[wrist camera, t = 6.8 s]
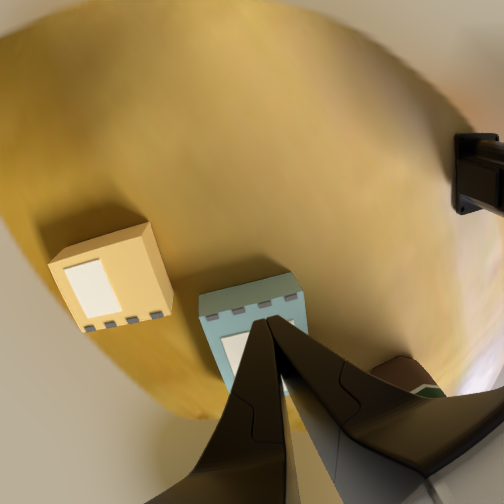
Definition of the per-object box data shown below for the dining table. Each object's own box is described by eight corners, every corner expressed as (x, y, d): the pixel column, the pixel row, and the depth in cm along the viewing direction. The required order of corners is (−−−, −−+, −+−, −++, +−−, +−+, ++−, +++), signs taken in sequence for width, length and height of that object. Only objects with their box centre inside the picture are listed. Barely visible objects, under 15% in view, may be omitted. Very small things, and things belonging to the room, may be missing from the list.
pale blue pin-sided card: (291, 271, 18) (303, 291, 16) (304, 366, 22) (313, 388, 20) (198, 294, 18) (198, 318, 16) (232, 385, 22) (235, 409, 19)
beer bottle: (399, 397, 27) (489, 547, 6) (343, 411, 26) (427, 592, 4) (426, 347, 25) (549, 511, 3) (367, 359, 23) (493, 574, 1)
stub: (149, 221, 15) (140, 236, 13) (174, 292, 17) (170, 316, 15) (64, 247, 15) (46, 265, 13) (93, 311, 17) (81, 333, 15)
